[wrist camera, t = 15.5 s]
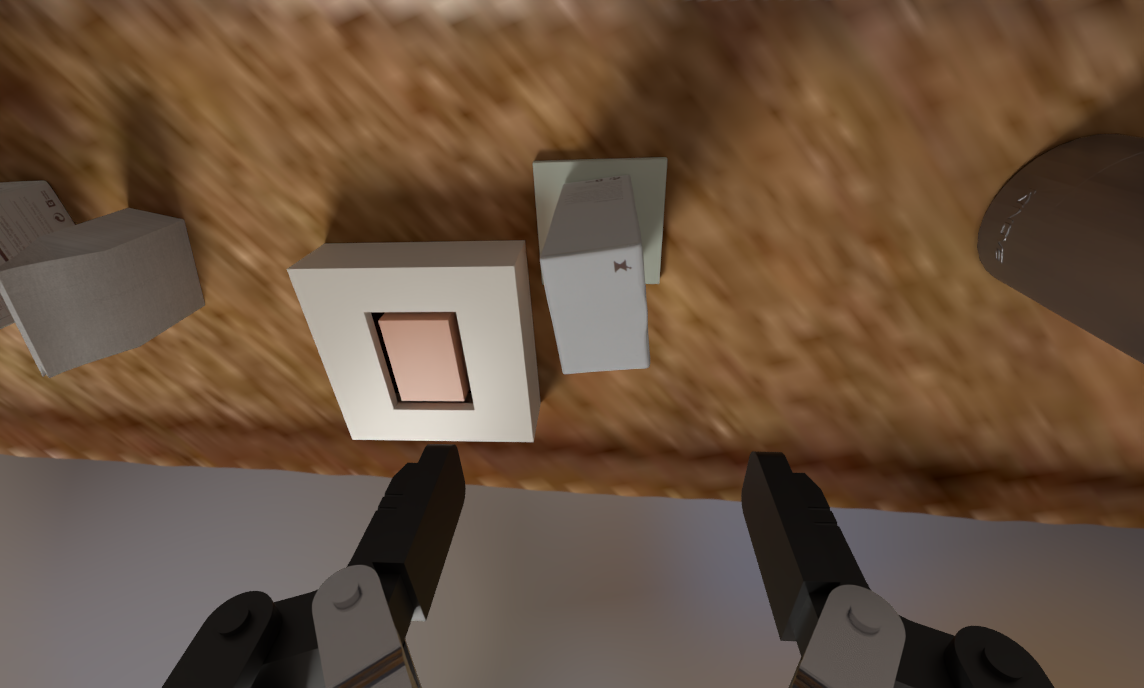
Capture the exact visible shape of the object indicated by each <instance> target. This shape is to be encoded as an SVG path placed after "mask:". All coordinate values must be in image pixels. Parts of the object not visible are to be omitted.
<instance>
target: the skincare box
mask: <svg viewBox="0 0 1144 688" xmlns="http://www.w3.org/2000/svg"><path fill="white" fill-rule="evenodd" d="M540 264H541V269H542V275H543V280H544V286H545V291H546V296H547V301H548V306H549V310H550V314H551V319H552V323H553V328H554V332H555V337H556V342H557V347H558V352H559V356H560V361H561V366H562V371H563V374H572V373H584V372H595V371H611V370H624V369H642V368H648V367H649V366H650V352H649V338H648V310H647V302H646V285H645V273H644V259H643V248H642V240H641V232H640V227H639V223H638V217H637V211H636V206H635V200H634V193H633V188H632V182H631V176H630V175H622V176H614V177H607V178H599V179H593V180H586V181H579V182H571V183H564V184H563V187H562V190H561V193H560V196H559V199H558V203H557V206H556V209H555V212H554V215H553V218H552V222H551V225H550V228H549V231H548V234H547V238H546V241H545V244H544V247H543V250H542V254H541V257H540Z"/></svg>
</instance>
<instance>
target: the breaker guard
mask: <svg viewBox="0 0 1144 688" xmlns="http://www.w3.org/2000/svg"><path fill="white" fill-rule="evenodd" d="M287 271H288V274H289V276H290V279H291V281H292V284H293V287H294V289H295V292H296V294H297V297H298V300H299V302H300V305H301V307H302V310H303V312H304V315H305V318H306V320H307V323H308V325H309V328H310V331H311V333H312V336H313V338H314V341H315V344H316V346H317V349H318V351H319V354H320V356H321V359H322V362H323V364H324V367H325V369H326V372H327V375H328V377H329V380H330V382H331V385H332V388H333V390H334V393H335V395H336V398H337V401H338V403H339V406H340V408H341V411H342V413H343V416H344V419H345V421H346V424H347V426H348V429H349V432H350V434H351V437H352V439H353V440H424V441H494V442H534V437H535V431H536V426H537V420H538V415H539V409H540V404H541V403H540V392H539V382H538V371H537V361H536V350H535V339H534V329H533V318H532V308H531V297H530V286H529V276H528V265H527V255H526V244H525V240H507V241H447V242H388V243H328V244H323V245H322V246H320V247H319V248H317V249H316V250H314V251H313V252H311V253H310V254H308V255H307V256H305V257H304V258H302V259H301V260H299V261H298V262H297V263H295V264H294V265H292V266H291V267H289V268H288V269H287ZM371 312H456V314H457V320H458V325H459V330H460V335H461V340H462V346H463V351H464V356H465V361H466V367H467V372H468V377H469V382H470V388H471V393H472V394H467V396H466V398H465V401H402V400H401V396H400V393H395V391H394V388H393V385H392V381H391V378H390V375H389V371H388V368H387V365H386V361H385V358H384V355H383V351H382V348H381V345H380V341H379V338H378V335H377V331H376V328H375V325H374V321H373V318H372V315H371Z"/></svg>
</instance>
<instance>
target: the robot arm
mask: <svg viewBox="0 0 1144 688" xmlns="http://www.w3.org/2000/svg"><path fill="white" fill-rule="evenodd" d="M977 248H978V253H979V258H980V261H981V262H982V264H983V266H984V268H985V269H986V271H988V272H989V273H990V274H991V275H992V276H993V277H995V278H996V279H998V280H1000V281H1001V282H1003V283H1005V284H1006V285H1008V286H1010V287H1012V288H1013V289H1015V290H1017V291H1019V292H1020V293H1022V294H1024V295H1026V296H1027V297H1029V298H1031V299H1032V300H1034V301H1036V302H1038V303H1039V304H1041V305H1042V306H1044V307H1046V308H1047V309H1049V310H1051V311H1053V312H1054V313H1056V314H1058V315H1060V316H1061V317H1063V318H1065V319H1067V320H1068V321H1070V322H1072V323H1074V324H1075V325H1077V326H1079V327H1080V328H1082V329H1084V330H1086V331H1087V332H1089V333H1091V334H1093V335H1094V336H1096V337H1098V338H1100V339H1101V340H1103V341H1105V342H1106V343H1108V344H1110V345H1112V346H1113V347H1115V348H1117V349H1119V350H1120V351H1122V352H1124V353H1126V354H1127V355H1129V356H1131V357H1133V358H1134V359H1136V360H1138V361H1139V362H1141V363H1143V364H1144V138H1140V137H1134V136H1128V135H1121V134H1097V135H1092V136H1088V137H1083V138H1078V139H1076V140H1073V141H1070V142H1068V143H1065V144H1063V145H1060V146H1057V147H1056V148H1054V149H1052V150H1050V151H1048V152H1047V153H1045V154H1043V155H1041V156H1039V157H1038V158H1036V159H1035V160H1034V161H1032V162H1031V163H1030V164H1028V165H1027V166H1025V167H1024V168H1023V169H1021V170H1020V171H1019V172H1018V173H1017V174H1016V175H1015V176H1014V177H1013V178H1012V179H1011V180H1010V181H1009V182H1008V183H1007V184H1006V185H1005V186H1004V187H1003V188H1002V189H1001V191H1000V192H999V193H998V195H997V196H996V197H995V198H994V200H993V201H992V203H991V204H990V206H989V208H988V210H987V212H986V214H985V215H984V217H983V220H982V223H981V226H980V229H979V233H978V244H977ZM464 499H465V480H464V475H463V471H462V466H461V462H460V458H459V453H458V449H457V447H456V445H448V444H428V445H427V446H426V447H425V449H424V451H423V453H422V455H421V457H420V459H419V462H418V463H407V464H406V465H405V466H404V467H403V468H402V469H401V470H400V471H399V472H398V473H397V474H396V475H395V476H394V477H393V478H392V480H391V482H390V484H389V486H388V488H387V490H386V492H385V496H384V497H383V498H382V500H381V502H380V504H379V506H378V510H377V511H376V512H375V514H374V516H373V518H372V519H371V522H370V524H369V526H368V527H367V529H366V531H365V533H364V535H363V537H362V539H361V541H360V543H359V545H358V547H357V549H356V551H355V553H354V555H353V557H352V559H351V561H350V562H349V564H348V566H347V567H346V568H343V569H341V570H339V571H337V572H336V573H334V574H333V575H331V576H330V577H329V578H328V579H327V580H326V581H325V582H324V583H323V584H322V585H321V586H320V588H319V589H318V590H316V591H313V592H310V593H307V594H303V595H299V596H296V597H292V598H288V599H285V600H281V601H277V602H273V601H272V599H271V598H270V597H269V596H268V595H267V594H266V593H264V592H260V591H249V592H245V593H242V594H239V595H237V596H235V597H233V598H231V599H229V600H227V601H226V602H224V603H223V604H222V605H220V606H219V607H218V608H217V609H216V610H215V611H214V612H212V614H211V615H210V616H209V617H208V618H207V619H206V621H205V622H204V624H203V625H202V627H201V628H200V630H199V631H198V633H197V634H196V636H195V637H194V639H193V640H192V642H191V643H190V645H189V646H188V648H187V649H186V651H185V653H184V654H183V656H182V657H181V659H180V660H179V662H178V663H177V665H176V666H175V668H174V669H173V671H172V672H171V674H170V675H169V677H168V679H167V680H166V682H165V683H164V685H163V686H162V688H422V686H421V683H420V680H419V677H418V675H417V671H416V669H415V665H414V663H413V660H412V657H411V654H410V651H409V648H408V645H407V642H406V639H405V637H406V634H407V631H408V628H409V626H410V622H411V621H426V619H427V616H428V613H429V610H430V607H431V604H432V600H433V597H434V594H435V591H436V588H437V585H438V582H439V579H440V576H441V573H442V569H443V566H444V563H445V560H446V557H447V554H448V551H449V548H450V545H451V541H452V538H453V535H454V532H455V529H456V526H457V523H458V520H459V516H460V513H461V510H462V507H463V504H464ZM742 509H743V514H744V517H745V521H746V524H747V528H748V531H749V534H750V538H751V541H752V545H753V548H754V551H755V555H756V558H757V562H758V565H759V569H760V571H761V575H762V579H763V582H764V585H765V589H766V592H767V596H768V599H769V603H770V606H771V609H772V613H773V616H774V620H775V623H776V626H777V630H778V633H779V637H780V640H781V641H797V645H798V648H799V651H800V654H801V659H800V661H799V664H798V666H797V668H796V671H795V673H794V676H793V678H792V680H791V683H790V685H789V688H1054V686H1053V685H1052V683H1051V682H1050V680H1049V679H1048V677H1047V675H1046V674H1045V672H1044V671H1043V669H1042V668H1041V667H1040V665H1039V664H1038V663H1037V661H1036V660H1035V659H1034V658H1033V657H1032V656H1031V655H1030V654H1029V653H1028V652H1027V651H1026V650H1025V649H1024V648H1023V647H1021V646H1020V645H1019V644H1018V643H1016V642H1015V641H1013V640H1012V639H1010V638H1009V637H1007V636H1005V635H1003V634H1001V633H1000V632H997V631H995V630H992V629H989V628H986V627H981V626H968V627H965V628H962V629H961V630H960V631H958V633H957V634H956V635H955V636H953V635H951V634H947V633H945V632H942V631H939V630H935V629H933V628H929V627H927V626H924V625H921V624H918V623H915V622H913V621H910V620H908V619H906V618H904V617H902V616H900V615H898V614H897V612H896V611H895V610H894V608H893V607H892V606H891V605H890V604H889V603H888V602H887V601H886V600H884V599H883V598H882V597H881V596H879V595H878V594H876V593H874V592H873V591H871V589H870V588H869V586H868V584H867V583H866V581H865V578H864V576H863V574H862V572H861V570H860V568H859V566H858V564H857V562H856V560H855V558H854V556H853V554H852V552H851V550H850V548H849V546H848V544H847V542H846V540H845V538H844V536H843V534H842V531H841V529H840V527H838V526H837V521H836V519H835V517H834V515H833V513H832V511H830V507H829V505H828V503H827V501H826V499H825V497H824V495H823V492H822V490H821V489H820V488H819V487H818V486H817V485H816V484H815V483H814V482H813V481H812V480H811V479H810V478H809V477H808V476H807V475H806V474H805V473H792V470H791V468H790V466H789V464H788V461H787V459H786V457H785V455H784V454H783V453H782V452H751V454H750V457H749V461H748V466H747V470H746V475H745V479H744V483H743V488H742Z"/></svg>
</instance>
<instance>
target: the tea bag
mask: <svg viewBox="0 0 1144 688" xmlns="http://www.w3.org/2000/svg"><path fill="white" fill-rule="evenodd" d="M0 293H1V295H2V297H3V299H4V301H5V303H6V305H7V307H8V309H9V311H10V313H11V315H12V317H13V319H14V321H15V323H16V325H17V327H18V329H19V331H20V333H21V335H22V337H23V339H24V341H25V343H26V344H27V346H28V348H29V350H30V352H31V354H32V356H33V358H34V360H35V362H36V364H37V366H38V368H39V370H40V372H41V374H42V376H43V377H44V376H45V375H46V374H47V376H48V377H49V378H51V377H53V376H55V375H58V374H60V373H62V372H65V371H67V370H70V369H73V368H76V367H78V366H81V365H84V364H87V363H90V362H93V361H96V360H99V359H102V358H105V357H109V356H112V355H115V354H118V353H121V352H124V351H127V350H131V349H134V348H137V347H140V346H141V345H143V344H145V343H146V342H148V341H149V340H151V339H152V338H154V337H156V336H157V335H159V334H160V333H162V332H164V331H165V330H167V329H168V328H170V327H171V326H173V325H175V324H176V323H178V322H179V321H181V320H183V319H184V318H186V317H187V316H189V315H190V314H192V313H194V312H195V311H197V310H198V309H200V308H202V307H203V306H205V302H204V298H203V294H202V290H201V286H200V282H199V278H198V274H197V270H196V266H195V262H194V258H193V254H192V250H191V246H190V242H189V238H188V234H187V229H186V225H185V221H184V219H179V218H175V217H170V216H165V215H160V214H156V213H151V212H146V211H142V210H137V209H132V208H126V209H123V210H120V211H117V212H114V213H111V214H108V215H105V216H102V217H99V218H95V219H92V220H89V221H86V222H83V223H80V224H77V225H74V226H71V227H68V228H65V229H62V230H59V231H56V232H53V233H49V234H46V235H43V236H40V237H38V238H37V239H36V240H35V241H34V242H32V243H31V244H30V245H29V246H27V247H26V248H25V249H24V250H22V251H21V252H20V253H19V254H18V255H16V256H15V257H13V258H12V259H10V260H9V261H7V262H5V263H4V264H2V265H0Z"/></svg>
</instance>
